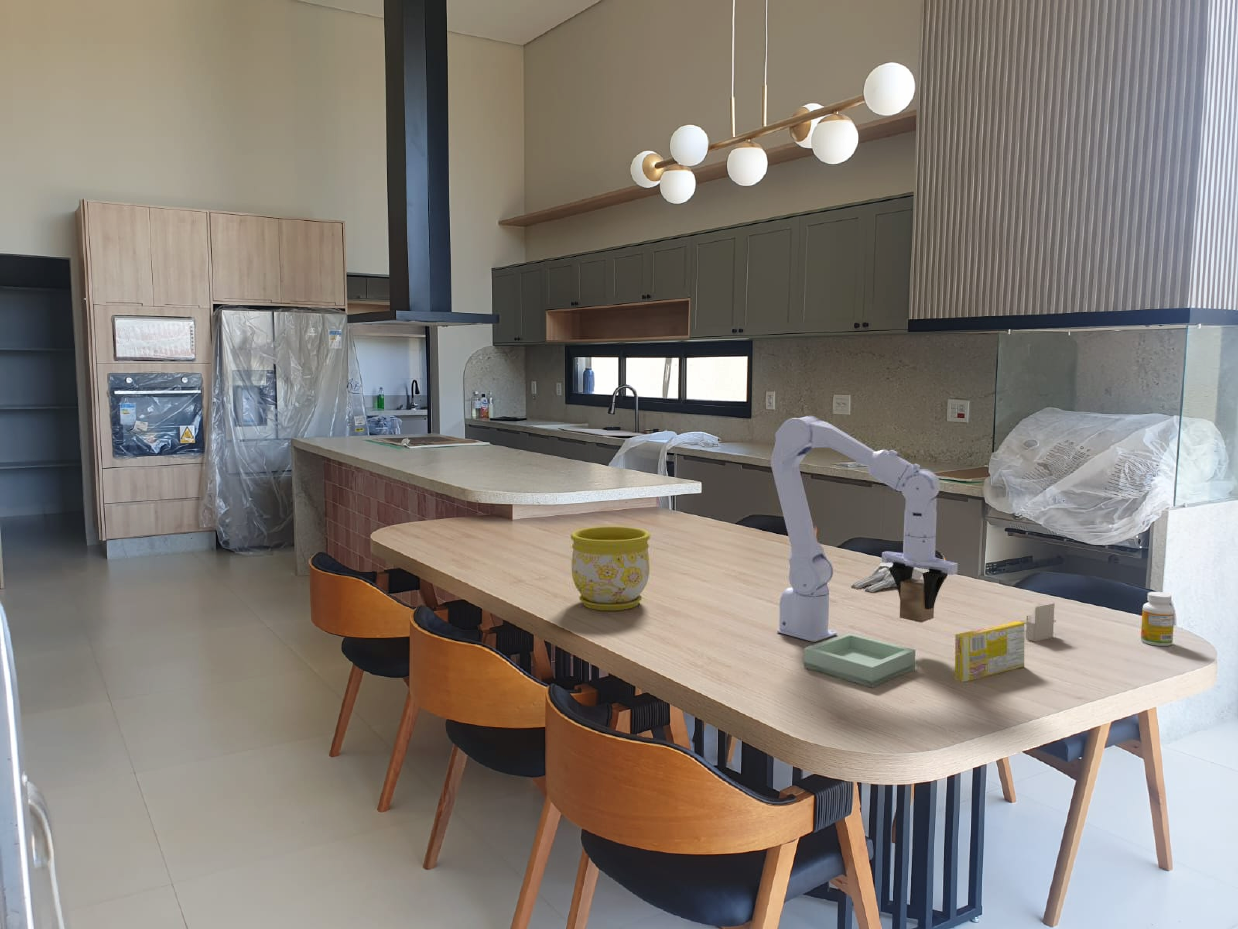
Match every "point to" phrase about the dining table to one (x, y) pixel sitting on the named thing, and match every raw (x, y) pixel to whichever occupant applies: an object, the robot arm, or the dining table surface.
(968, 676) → the candy box
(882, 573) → the turret
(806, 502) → the robot arm
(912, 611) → the walnut block
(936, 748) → the dining table surface
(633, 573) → the flowerpot
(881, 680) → the bin
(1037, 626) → the architectural model
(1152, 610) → the supplement bottle
